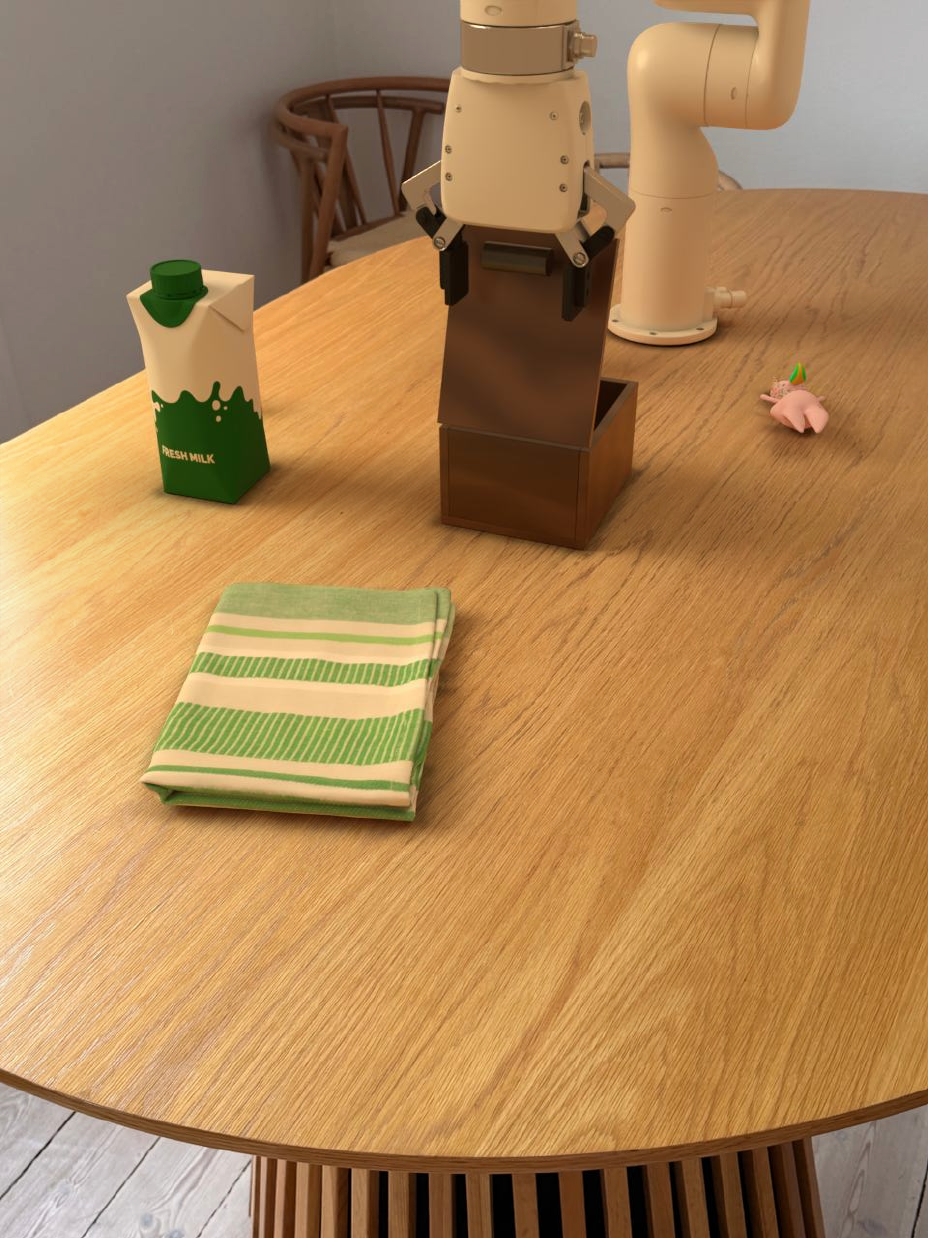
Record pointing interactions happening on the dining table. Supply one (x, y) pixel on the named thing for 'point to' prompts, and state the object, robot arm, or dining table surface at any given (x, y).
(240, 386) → the milk carton
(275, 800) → the dish towel
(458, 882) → the dining table surface
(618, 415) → the chest
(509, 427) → the lid
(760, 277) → the dining table surface
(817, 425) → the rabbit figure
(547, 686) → the dining table surface
